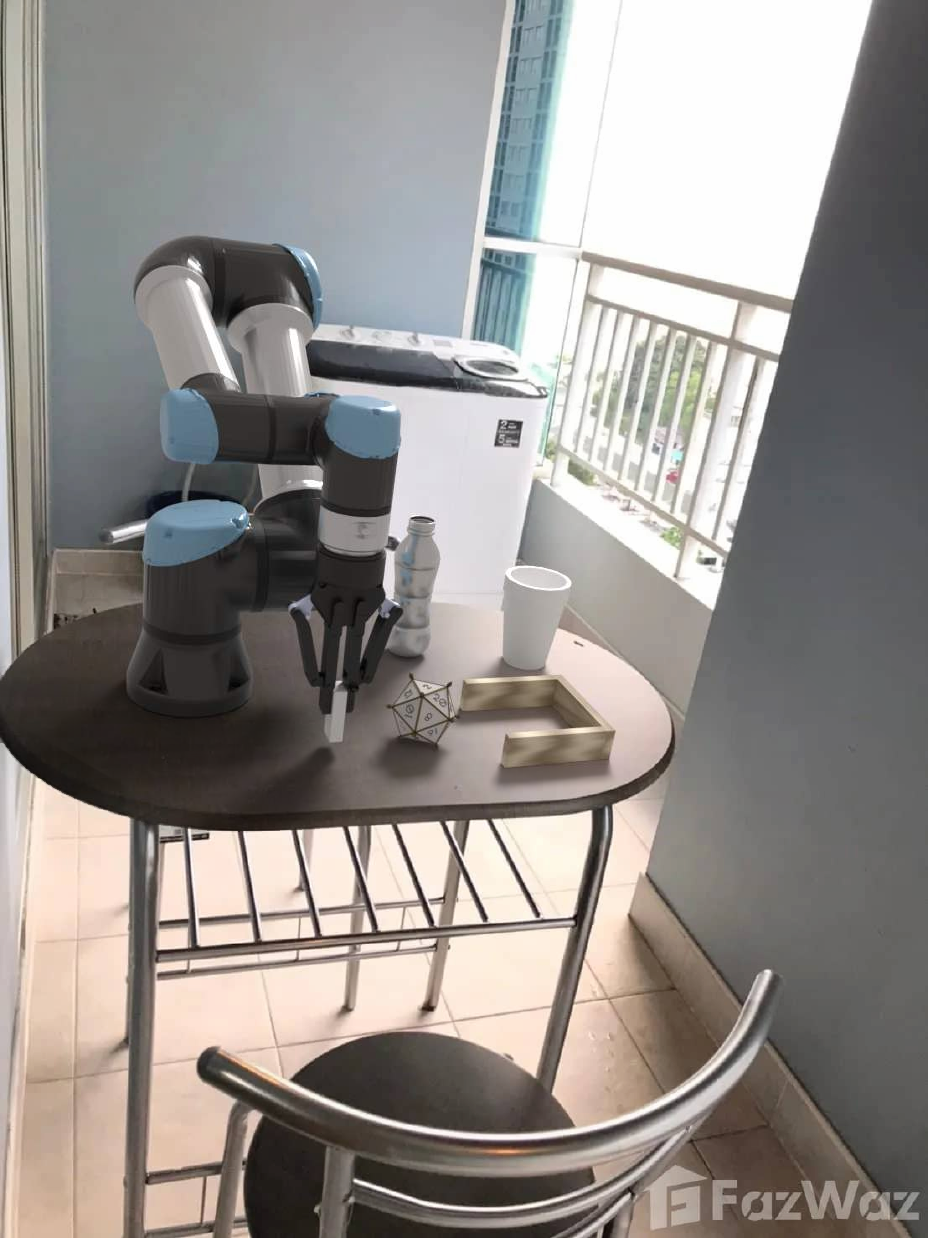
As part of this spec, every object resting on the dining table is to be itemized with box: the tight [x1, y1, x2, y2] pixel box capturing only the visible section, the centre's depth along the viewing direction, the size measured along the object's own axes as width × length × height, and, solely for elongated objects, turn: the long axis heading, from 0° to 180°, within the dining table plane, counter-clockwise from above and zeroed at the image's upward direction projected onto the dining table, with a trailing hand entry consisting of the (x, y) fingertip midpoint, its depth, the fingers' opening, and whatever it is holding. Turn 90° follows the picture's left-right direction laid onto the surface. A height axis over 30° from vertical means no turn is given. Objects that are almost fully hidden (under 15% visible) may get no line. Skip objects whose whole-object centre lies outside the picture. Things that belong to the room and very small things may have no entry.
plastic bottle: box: [386, 514, 441, 658], centre depth 140 cm, size 6×7×20 cm
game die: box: [385, 672, 462, 751], centre depth 120 cm, size 9×8×10 cm
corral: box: [459, 674, 616, 769], centre depth 127 cm, size 14×15×4 cm
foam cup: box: [502, 565, 572, 671], centre depth 145 cm, size 10×9×13 cm
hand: (333, 736), depth 117 cm, fingers closed
